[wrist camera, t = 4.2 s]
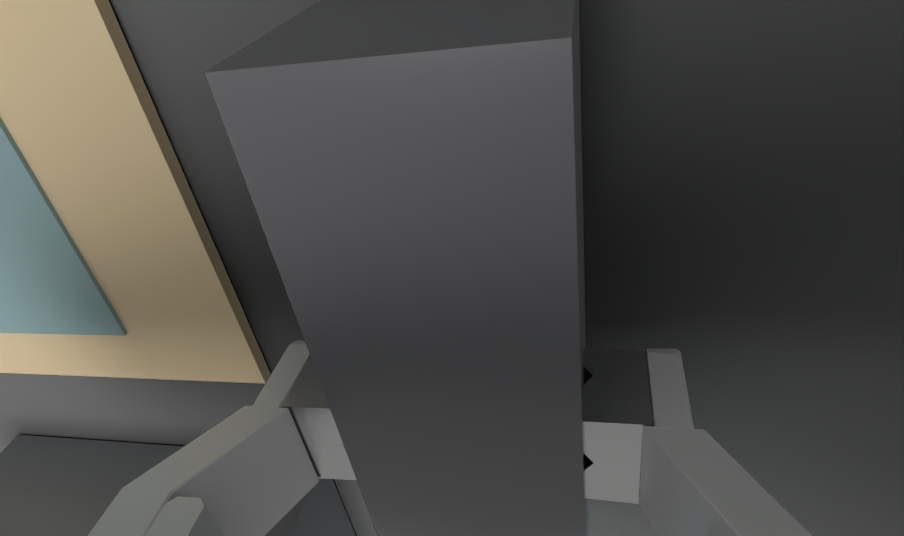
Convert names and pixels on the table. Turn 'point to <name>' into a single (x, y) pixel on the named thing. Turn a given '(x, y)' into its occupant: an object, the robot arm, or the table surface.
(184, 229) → the drawing pad
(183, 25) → the table surface
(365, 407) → the block
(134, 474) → the button console
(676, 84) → the table surface
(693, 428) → the robot arm
